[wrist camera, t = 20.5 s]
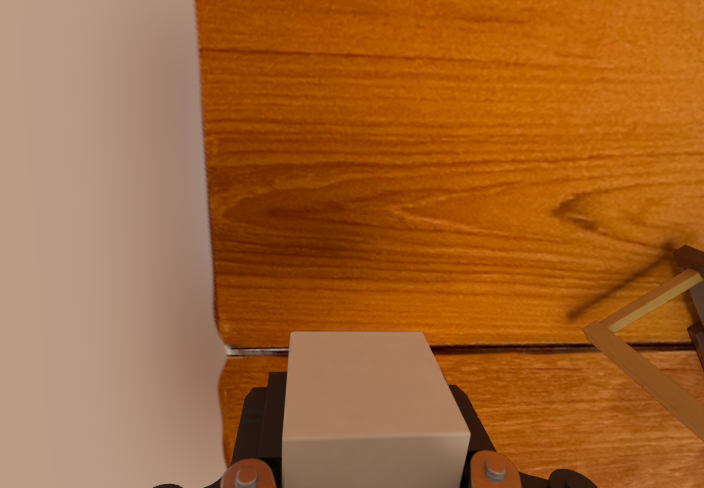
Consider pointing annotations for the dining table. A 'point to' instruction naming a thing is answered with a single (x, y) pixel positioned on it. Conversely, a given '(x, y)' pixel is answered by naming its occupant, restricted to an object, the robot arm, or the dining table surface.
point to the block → (369, 414)
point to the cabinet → (698, 339)
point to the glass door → (700, 278)
